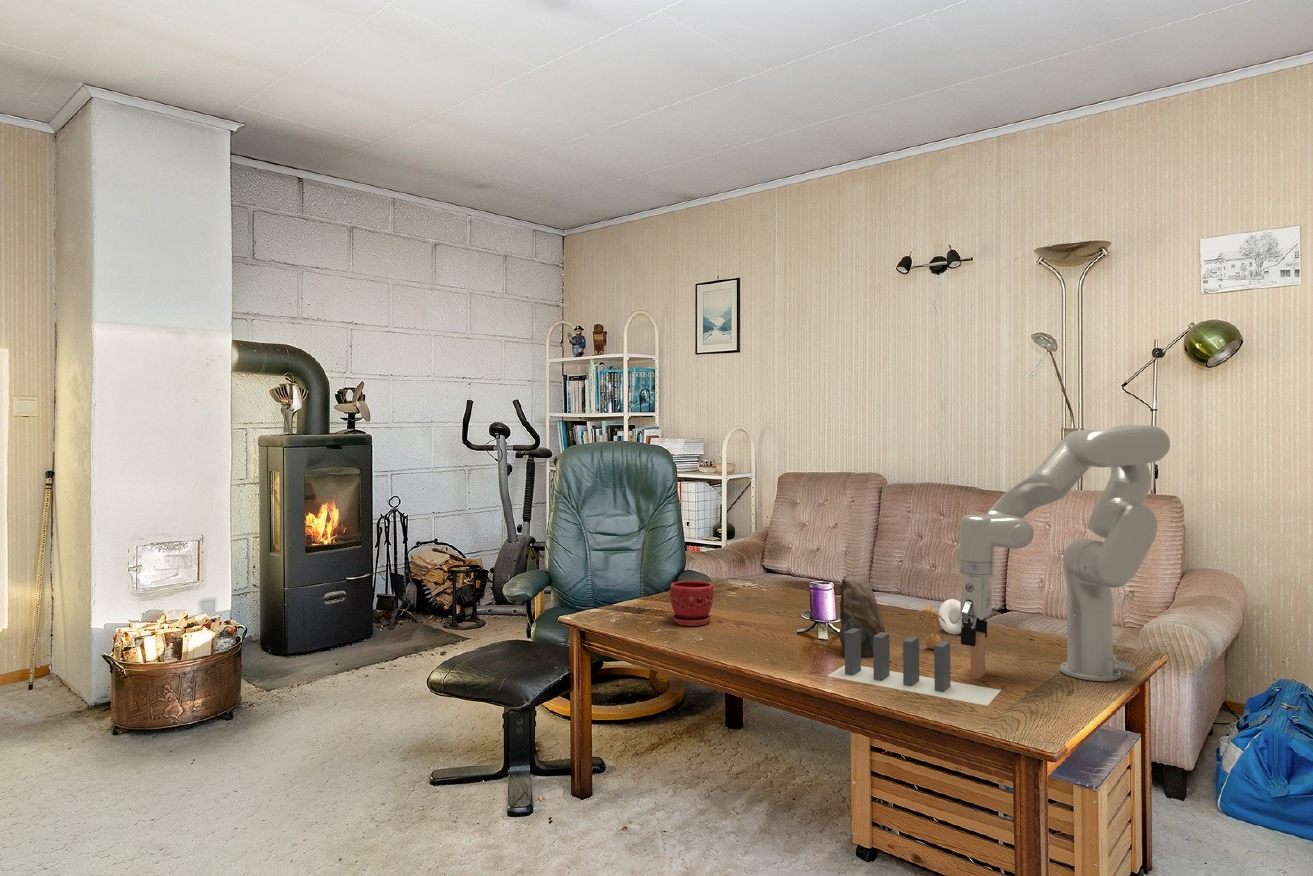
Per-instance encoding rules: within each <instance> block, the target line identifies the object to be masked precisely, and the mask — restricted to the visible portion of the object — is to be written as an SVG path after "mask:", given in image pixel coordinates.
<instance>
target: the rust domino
mask: <svg viewBox="0 0 1313 876" xmlns="http://www.w3.org/2000/svg"><path fill="white" fill-rule="evenodd" d="M969 647H970V648H969V649H970V678H972V679H976V680H977V679H978V680H980V679H981V678H982V677H983V676H985V674H986V638H985V633H982V632H976V645H975V646H969Z"/></svg>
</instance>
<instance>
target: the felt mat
mask: <svg viewBox="0 0 1313 876" xmlns="http://www.w3.org/2000/svg"><path fill="white" fill-rule="evenodd" d="M827 677H830V678H835V679H841V680H846V681H852V682H856V683H861V684H862V683H863V684H866V685H867V684H868V685H873V686H877V687H883V688H889V689H892V690H893V689H895V690H898V691H899V690H900V691H906V692H911V693H917V694H921V695H926V696H931V697H937V698H943V699H949V700H954V701H959V702H965V703H970V704H974V705H975V704H976V705H981V706H985V707H988V706H989V705H990V704H991V703H992V702H993V701H994V699H995V698H996V697H997V696H998V695H999V694H1000V692H1002V689H998V688H993V687H992V688H991V687H986V686H979V685H976V684H975V685H973V684H968V683H962V682H956V681H951V680H950V685H951V686H950V687H949V688H948V689H947V690H946V691H945V692H940V691H935V677H934V678H933V677H928V676H922V675H919V681H918V682H917V683H916V684H915V685H913V686H907V685H903V672H898V671H892V670H890V676H888V677H887V678H885V679H884V680H883V681H879V680H874V678H873V667H869V666H863V665H861V671H860V672H858V673H856V674H855V675H853V676H851V675H846V674H845V664H844V665H843V666H841V667H839V668H837V669H836V670H834V671H833V672H831V673H829V674H828V675H827Z"/></svg>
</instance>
